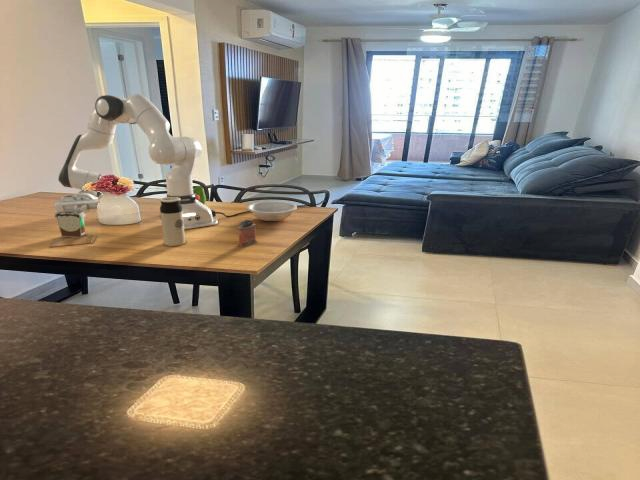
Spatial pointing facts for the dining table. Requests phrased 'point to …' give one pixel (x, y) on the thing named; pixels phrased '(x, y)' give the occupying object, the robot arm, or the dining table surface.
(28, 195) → the dining table surface
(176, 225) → the travel mug
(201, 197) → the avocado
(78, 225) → the food container
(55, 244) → the cork pad
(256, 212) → the soup bowl
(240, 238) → the red tin
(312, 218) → the dining table surface
